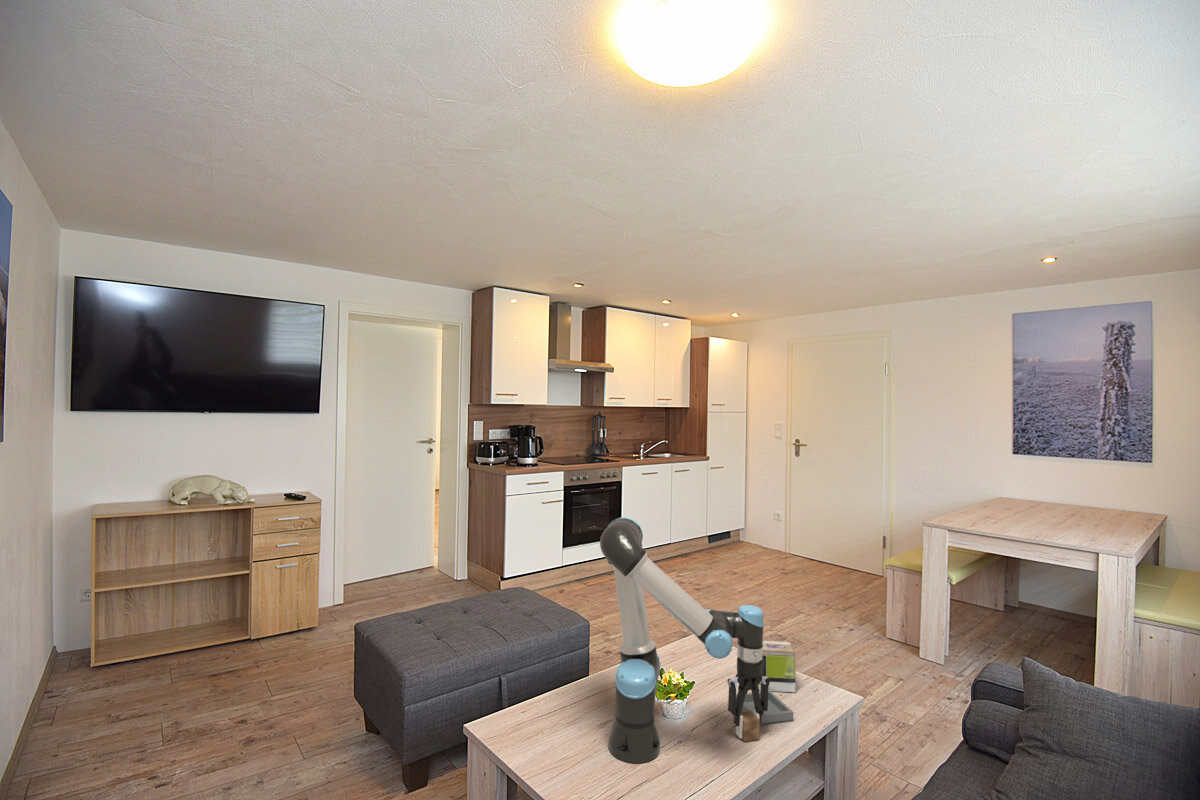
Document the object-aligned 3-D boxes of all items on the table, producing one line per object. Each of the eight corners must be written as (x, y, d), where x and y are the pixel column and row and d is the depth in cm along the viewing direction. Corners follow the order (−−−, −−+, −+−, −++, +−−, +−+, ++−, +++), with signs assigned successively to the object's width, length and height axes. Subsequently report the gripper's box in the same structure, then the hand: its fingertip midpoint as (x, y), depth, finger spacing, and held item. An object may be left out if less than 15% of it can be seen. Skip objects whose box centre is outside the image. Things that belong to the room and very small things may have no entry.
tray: (754, 726, 178) (754, 716, 178) (733, 703, 191) (733, 694, 191) (793, 721, 181) (793, 711, 181) (769, 699, 195) (770, 690, 195)
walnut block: (744, 741, 169) (744, 721, 169) (736, 732, 173) (736, 712, 174) (758, 739, 170) (759, 719, 170) (750, 730, 175) (751, 711, 175)
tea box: (789, 680, 209) (789, 640, 209) (795, 693, 199) (796, 652, 199) (748, 677, 211) (748, 638, 211) (752, 690, 201) (753, 649, 201)
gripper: (728, 666, 166) (726, 745, 166) (782, 661, 171) (779, 738, 170) (717, 655, 174) (714, 730, 173) (769, 651, 178) (766, 725, 177)
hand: (747, 734), depth 172 cm, fingers closed on walnut block, 5 cm apart
